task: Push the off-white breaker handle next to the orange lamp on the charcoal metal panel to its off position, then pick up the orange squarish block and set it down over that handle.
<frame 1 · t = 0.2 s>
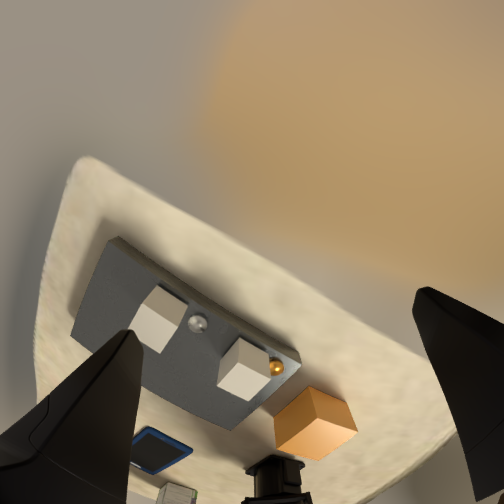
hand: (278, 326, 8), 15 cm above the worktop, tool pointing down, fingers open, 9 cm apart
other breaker: (157, 318, 20), point 4 cm above the worktop, slide at 0.0 cm
orange squarish block: (310, 411, 28), on the worktop
panel: (178, 344, 25), on the worktop
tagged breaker: (243, 369, 21), point 4 cm above the worktop, slide at 0.0 cm
syrup box: (177, 489, 34), on the worktop
cell phone: (151, 450, 31), on the worktop
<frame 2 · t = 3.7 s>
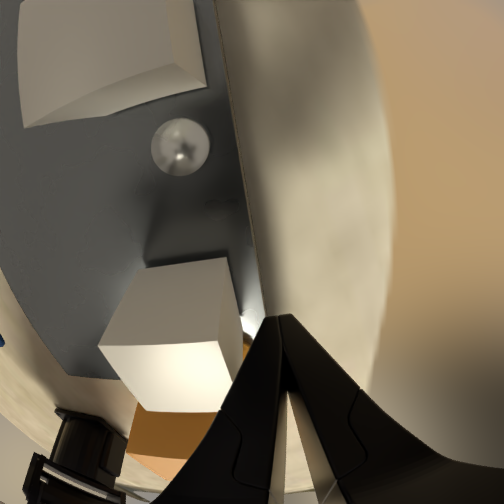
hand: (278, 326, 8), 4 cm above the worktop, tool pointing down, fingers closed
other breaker: (119, 38, 4), point 4 cm above the worktop, slide at 0.0 cm
orange squarish block: (197, 413, 17), on the worktop
panel: (88, 169, 9), on the worktop
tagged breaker: (183, 337, 8), point 4 cm above the worktop, slide at 0.4 cm, touching gripper
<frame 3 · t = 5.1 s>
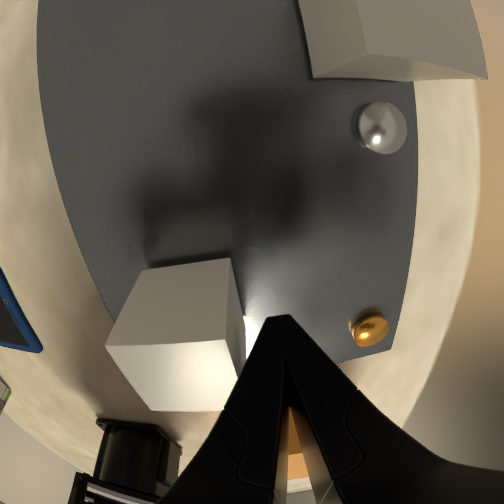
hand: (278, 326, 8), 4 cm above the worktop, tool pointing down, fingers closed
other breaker: (382, 16, 4), point 4 cm above the worktop, slide at 0.0 cm
orange squarish block: (277, 408, 17), on the worktop
panel: (231, 135, 9), on the worktop
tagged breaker: (188, 336, 8), point 4 cm above the worktop, slide at 6.1 cm, touching gripper
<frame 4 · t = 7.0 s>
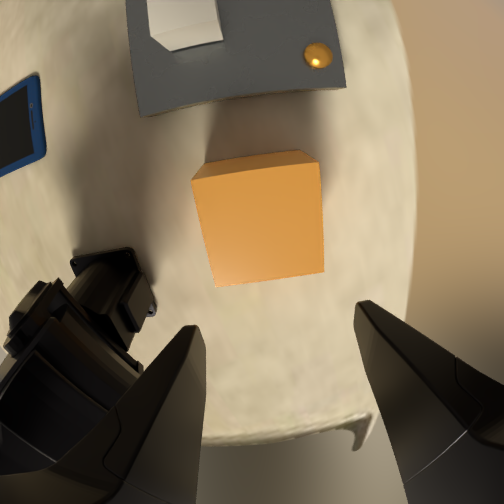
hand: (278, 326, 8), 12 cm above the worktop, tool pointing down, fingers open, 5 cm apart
orange squarish block: (258, 200, 18), on the worktop
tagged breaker: (187, 13, 9), point 4 cm above the worktop, slide at 6.1 cm
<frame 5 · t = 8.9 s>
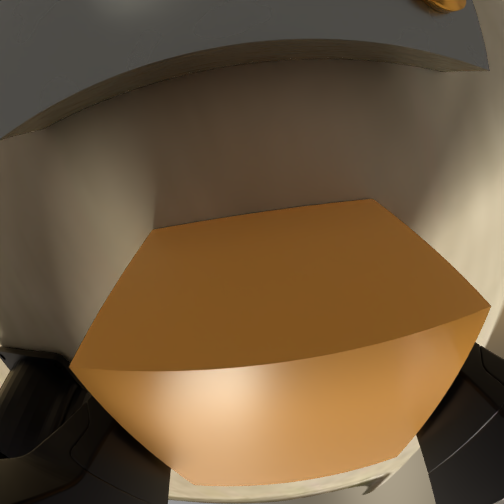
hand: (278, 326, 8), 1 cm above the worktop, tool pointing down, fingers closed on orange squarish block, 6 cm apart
orange squarish block: (275, 304, 9), on the worktop, touching gripper
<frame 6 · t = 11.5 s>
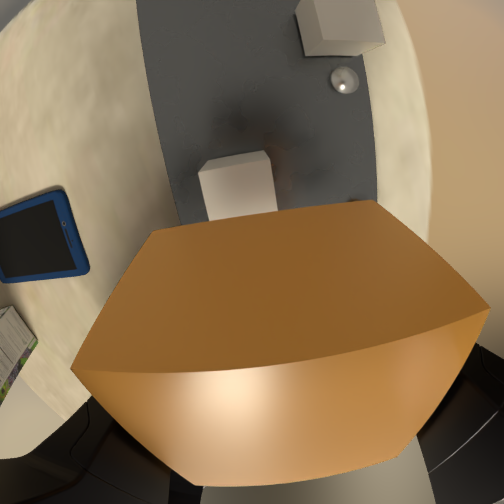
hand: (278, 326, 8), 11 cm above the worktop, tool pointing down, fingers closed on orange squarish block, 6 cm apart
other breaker: (336, 23, 9), point 4 cm above the worktop, slide at 0.0 cm
orange squarish block: (275, 305, 9), point 10 cm above the worktop, touching gripper
panel: (260, 90, 14), on the worktop
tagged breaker: (240, 189, 13), point 4 cm above the worktop, slide at 6.1 cm
syrup box: (15, 323, 23), on the worktop
cell phone: (28, 240, 19), on the worktop
when the fingers open (4 cm above the worktop, at t = 14.2 s): orange squarish block drops 1 cm, resting on panel.
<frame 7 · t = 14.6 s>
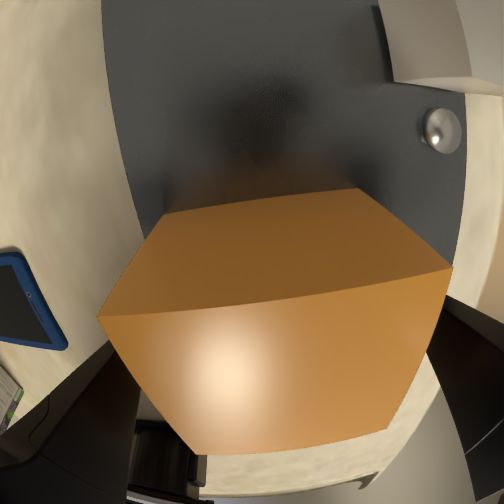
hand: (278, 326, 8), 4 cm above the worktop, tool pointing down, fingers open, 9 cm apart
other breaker: (457, 38, 4), point 4 cm above the worktop, slide at 0.0 cm
orange squarish block: (272, 283, 10), point 2 cm above the worktop, touching panel
panel: (305, 126, 9), on the worktop
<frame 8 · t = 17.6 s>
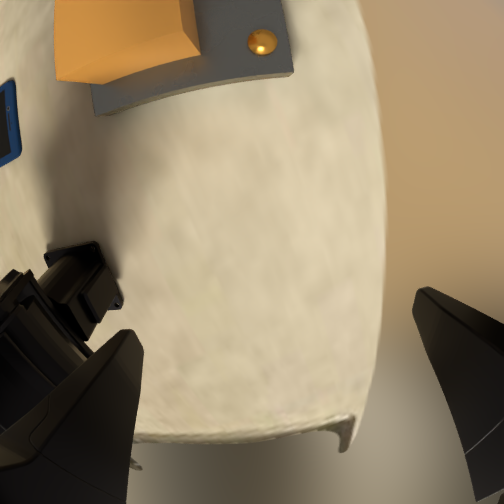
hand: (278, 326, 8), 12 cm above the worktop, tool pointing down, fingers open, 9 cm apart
orange squarish block: (143, 25, 11), point 2 cm above the worktop, touching panel
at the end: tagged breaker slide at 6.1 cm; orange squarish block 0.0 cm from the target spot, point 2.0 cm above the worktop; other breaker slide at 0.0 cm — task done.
